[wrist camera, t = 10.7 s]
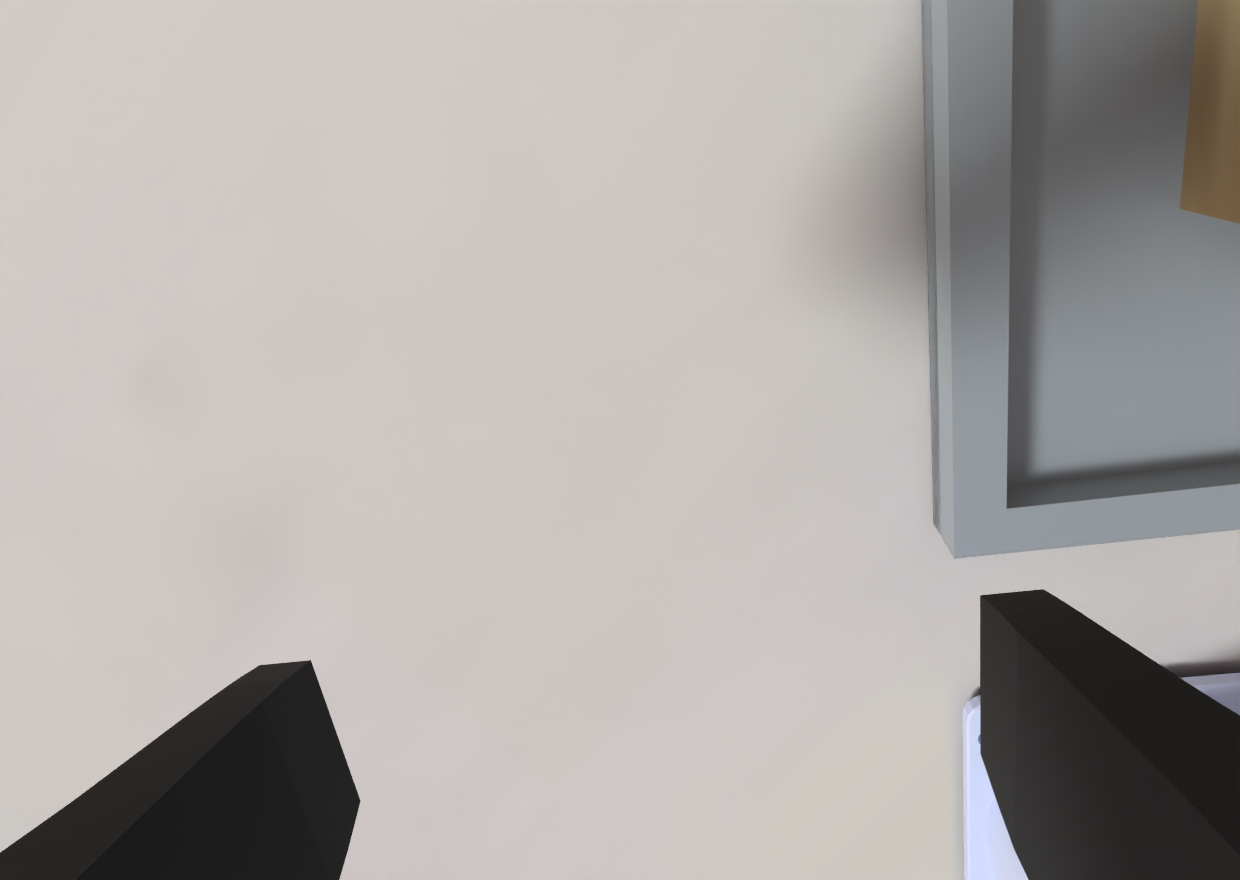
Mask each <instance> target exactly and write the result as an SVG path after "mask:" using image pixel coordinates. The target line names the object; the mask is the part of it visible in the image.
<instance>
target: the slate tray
mask: <svg viewBox="0 0 1240 880" xmlns="http://www.w3.org/2000/svg"><path fill="white" fill-rule="evenodd" d="M1197 9H1198V0H922V39H923V83H924V127H925V171H926V214H927V258H928V302H929V346H930V389H931V433H932V477H933V521H934V525H935V527H936V528H937V530H938V532H939V533H940V535H941V537H942V539H943V540H944V542H945V544H946V545H947V547H948V549H949V550H950V552H951V554H952V556H953V557H954V559H955V558H965V557H975V556H984V555H994V554H1004V553H1014V552H1024V551H1033V550H1043V549H1053V548H1063V547H1073V546H1082V545H1092V544H1102V543H1112V542H1122V541H1131V540H1141V539H1151V538H1161V537H1171V536H1180V535H1190V534H1200V533H1210V532H1220V531H1229V530H1239V529H1240V224H1238V223H1234V222H1230V221H1226V220H1222V219H1218V218H1214V217H1210V216H1206V215H1202V214H1198V213H1194V212H1190V211H1186V210H1182V209H1180V201H1181V190H1182V178H1183V167H1184V156H1185V144H1186V133H1187V122H1188V110H1189V99H1190V88H1191V76H1192V65H1193V54H1194V43H1195V31H1196V20H1197Z"/></svg>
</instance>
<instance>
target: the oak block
mask: <svg viewBox="0 0 1240 880" xmlns="http://www.w3.org/2000/svg"><path fill="white" fill-rule="evenodd" d="M1180 209H1182V210H1186V211H1190V212H1194V213H1198V214H1202V215H1206V216H1210V217H1214V218H1218V219H1222V220H1226V221H1230V222H1234V223H1238V224H1240V0H1198V9H1197V20H1196V31H1195V43H1194V54H1193V65H1192V76H1191V88H1190V99H1189V110H1188V122H1187V133H1186V144H1185V156H1184V167H1183V178H1182V190H1181V201H1180Z"/></svg>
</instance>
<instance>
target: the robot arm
mask: <svg viewBox="0 0 1240 880" xmlns="http://www.w3.org/2000/svg"><path fill="white" fill-rule="evenodd" d="M963 803H964V880H1240V673H1229V674H1217V675H1206V676H1194V677H1182V678H1179V677H1178V676H1176V675H1175V674H1173V673H1172V672H1170V671H1169V670H1167V669H1165V668H1164V667H1162V666H1161V665H1159V664H1158V663H1156V662H1155V661H1153V660H1152V659H1150V658H1148V657H1147V656H1145V655H1144V654H1142V653H1141V652H1139V651H1138V650H1136V649H1135V648H1133V647H1132V646H1130V645H1129V644H1127V643H1126V642H1124V641H1123V640H1121V639H1120V638H1118V637H1116V636H1115V635H1113V634H1112V633H1110V632H1109V631H1107V630H1106V629H1104V628H1103V627H1101V626H1100V625H1098V624H1097V623H1095V622H1094V621H1092V620H1091V619H1089V618H1088V617H1086V616H1085V615H1083V614H1082V613H1080V612H1079V611H1077V610H1075V609H1074V608H1072V607H1071V606H1069V605H1068V604H1066V603H1065V602H1063V601H1061V600H1060V599H1058V598H1057V597H1055V596H1053V595H1052V594H1050V593H1048V592H1047V591H1045V590H1032V591H1022V592H1012V593H1001V594H991V595H981V596H980V695H979V696H976V697H974V698H972V699H971V700H969V701H968V702H967V704H966V705H965V706H964V710H963ZM359 804H360V799H359V796H358V793H357V790H356V787H355V784H354V782H353V779H352V776H351V773H350V770H349V767H348V765H347V762H346V759H345V756H344V753H343V750H342V748H341V745H340V742H339V739H338V736H337V733H336V731H335V728H334V725H333V722H332V719H331V716H330V714H329V711H328V708H327V705H326V702H325V699H324V697H323V694H322V691H321V688H320V685H319V682H318V680H317V677H316V674H315V671H314V668H313V665H312V663H311V660H310V661H300V662H290V663H279V664H269V665H260V666H258V667H256V668H255V669H253V670H252V671H250V672H248V673H247V674H245V675H244V676H242V677H240V678H239V679H237V680H236V681H234V682H233V683H232V684H230V685H229V686H227V687H226V688H224V689H223V690H222V691H220V692H219V693H217V694H216V695H214V696H213V697H212V698H210V699H209V700H208V701H206V702H205V703H203V704H202V705H201V706H199V707H198V708H197V709H195V710H194V711H193V712H191V713H190V714H189V715H187V716H186V717H185V718H183V719H182V720H181V721H179V722H178V723H176V724H175V725H174V726H173V727H171V728H170V729H169V730H167V731H166V732H165V733H163V734H162V735H161V736H159V737H158V738H157V739H155V740H154V741H153V742H151V743H150V744H149V745H147V746H146V747H145V748H143V749H142V750H141V751H139V752H138V753H137V754H135V755H134V756H133V757H131V758H130V759H129V760H127V761H126V762H125V763H123V764H122V765H121V766H119V767H118V768H117V769H115V770H114V771H113V772H111V773H110V774H109V775H107V776H106V777H105V778H103V779H102V780H101V781H99V782H98V783H97V784H95V785H94V786H93V787H91V788H90V789H89V790H87V791H86V792H85V793H83V794H82V795H81V796H79V797H78V798H76V799H75V800H74V801H72V802H71V803H70V804H68V805H67V806H65V807H64V808H63V809H61V810H60V811H58V812H57V813H56V814H54V815H53V816H51V817H50V818H48V819H47V820H46V821H44V822H43V823H41V824H40V825H39V826H37V827H36V828H34V829H33V830H32V831H30V832H29V833H27V834H26V835H25V836H23V837H22V838H20V839H19V840H17V841H16V842H15V843H13V844H12V845H10V846H9V847H8V848H6V849H5V850H3V851H2V852H1V853H0V880H339V878H340V875H341V872H342V868H343V865H344V861H345V858H346V854H347V851H348V847H349V843H350V839H351V835H352V832H353V828H354V824H355V820H356V816H357V812H358V808H359Z"/></svg>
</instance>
